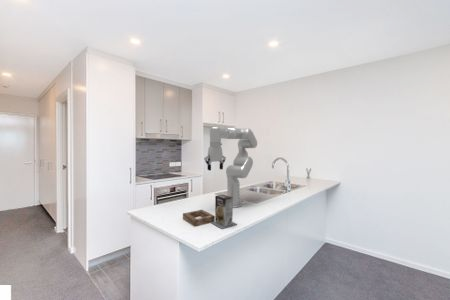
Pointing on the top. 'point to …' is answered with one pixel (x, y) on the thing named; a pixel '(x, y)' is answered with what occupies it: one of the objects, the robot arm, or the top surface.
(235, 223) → the rubber mat
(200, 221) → the pocket holder
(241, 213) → the top surface
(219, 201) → the coffee box
